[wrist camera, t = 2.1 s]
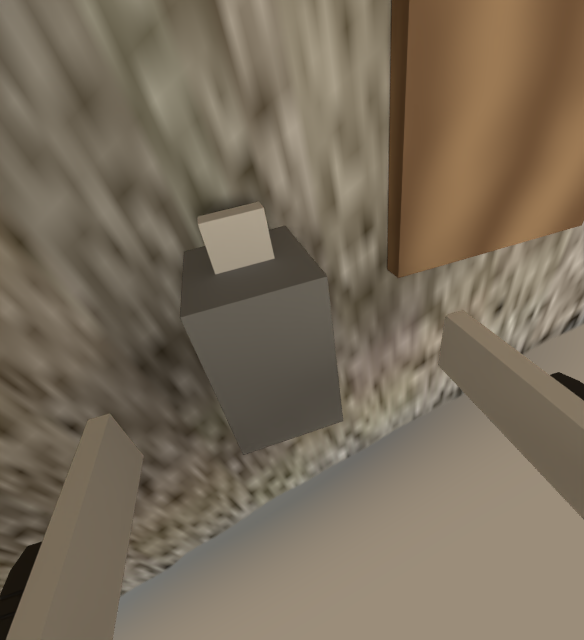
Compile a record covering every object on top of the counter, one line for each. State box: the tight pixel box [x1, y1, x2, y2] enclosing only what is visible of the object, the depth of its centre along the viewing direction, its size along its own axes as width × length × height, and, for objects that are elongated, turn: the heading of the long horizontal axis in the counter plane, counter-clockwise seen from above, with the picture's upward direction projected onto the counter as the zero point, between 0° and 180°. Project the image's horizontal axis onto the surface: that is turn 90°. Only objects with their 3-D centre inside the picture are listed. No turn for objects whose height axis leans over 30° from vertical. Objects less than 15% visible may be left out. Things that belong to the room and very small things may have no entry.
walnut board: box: [387, 0, 584, 278], centre depth 15 cm, size 12×12×1 cm
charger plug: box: [180, 202, 343, 455], centre depth 14 cm, size 5×10×6 cm, turn 10°
